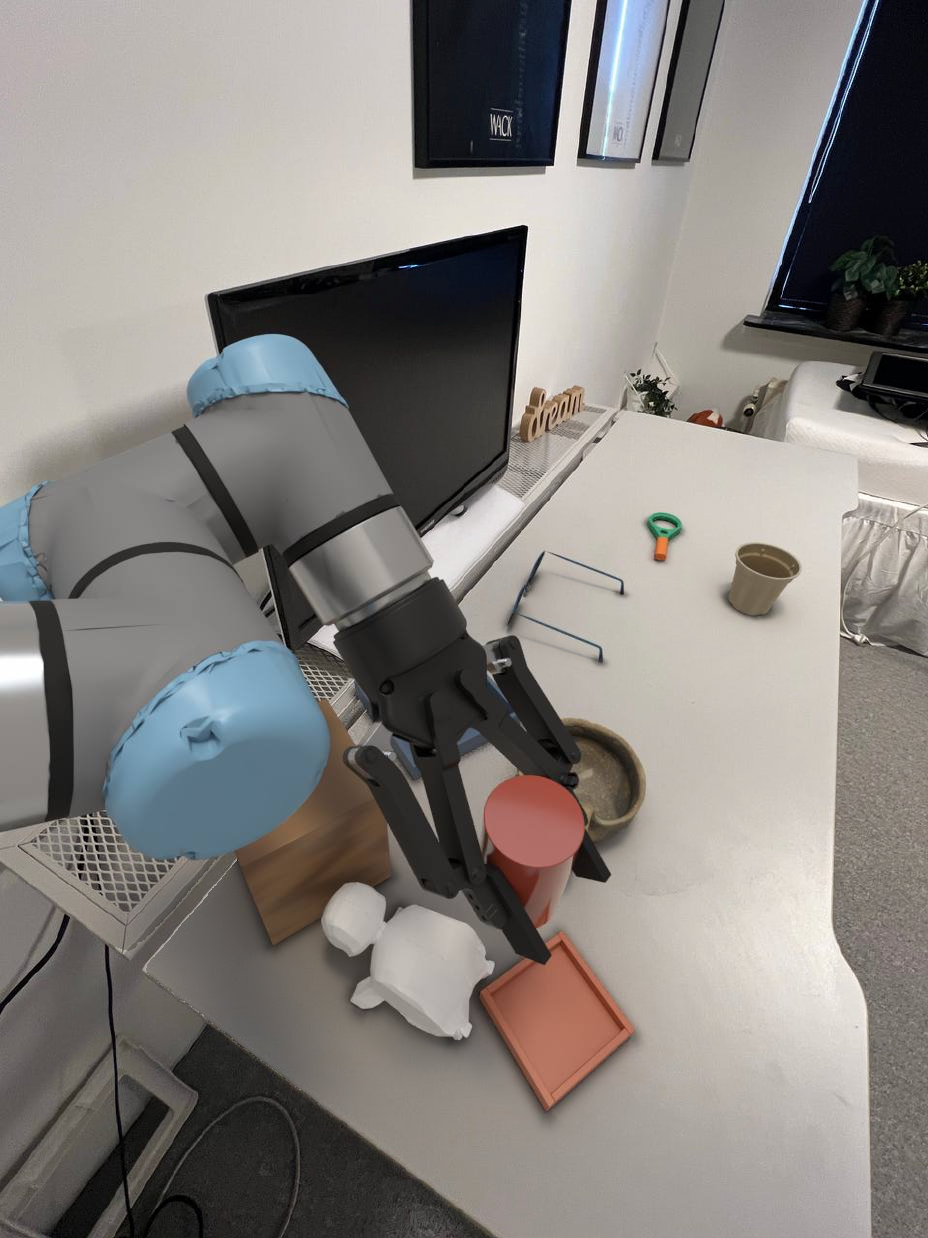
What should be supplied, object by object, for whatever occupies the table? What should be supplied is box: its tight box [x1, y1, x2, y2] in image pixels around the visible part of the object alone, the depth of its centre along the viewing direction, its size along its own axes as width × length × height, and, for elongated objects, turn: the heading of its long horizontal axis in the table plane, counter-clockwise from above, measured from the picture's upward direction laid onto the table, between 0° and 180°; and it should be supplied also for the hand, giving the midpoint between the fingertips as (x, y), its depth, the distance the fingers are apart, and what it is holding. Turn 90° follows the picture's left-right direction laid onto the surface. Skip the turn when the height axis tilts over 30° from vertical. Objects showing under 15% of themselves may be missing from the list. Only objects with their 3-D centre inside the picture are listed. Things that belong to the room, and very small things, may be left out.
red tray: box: [478, 930, 636, 1113], centre depth 50 cm, size 9×9×2 cm
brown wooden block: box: [233, 698, 392, 946], centre depth 55 cm, size 12×12×15 cm
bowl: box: [516, 717, 647, 843], centre depth 62 cm, size 14×18×10 cm
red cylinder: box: [479, 775, 585, 930], centre depth 38 cm, size 6×6×9 cm
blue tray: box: [353, 674, 521, 781], centre depth 74 cm, size 15×15×2 cm
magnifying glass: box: [647, 511, 683, 561], centre depth 107 cm, size 15×6×2 cm, turn 162°
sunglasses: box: [506, 550, 625, 663], centre depth 90 cm, size 17×15×5 cm
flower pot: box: [728, 541, 803, 617], centre depth 92 cm, size 9×9×9 cm
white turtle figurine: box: [320, 882, 496, 1041], centre depth 50 cm, size 9×8×15 cm
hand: (564, 912), depth 38 cm, fingers closed on red cylinder, 6 cm apart
